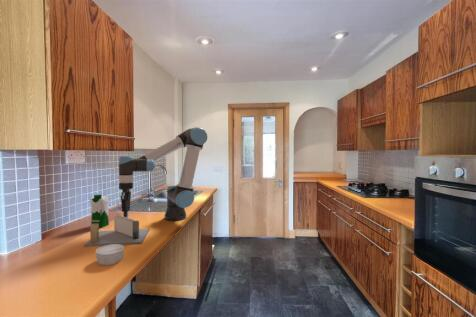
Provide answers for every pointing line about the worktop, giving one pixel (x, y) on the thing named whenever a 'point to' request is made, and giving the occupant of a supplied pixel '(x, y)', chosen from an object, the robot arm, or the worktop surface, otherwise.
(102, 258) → the ramekin
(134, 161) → the robot arm
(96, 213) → the milk carton
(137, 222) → the hinge post
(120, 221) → the rod
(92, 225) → the post
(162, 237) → the worktop surface
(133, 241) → the board
